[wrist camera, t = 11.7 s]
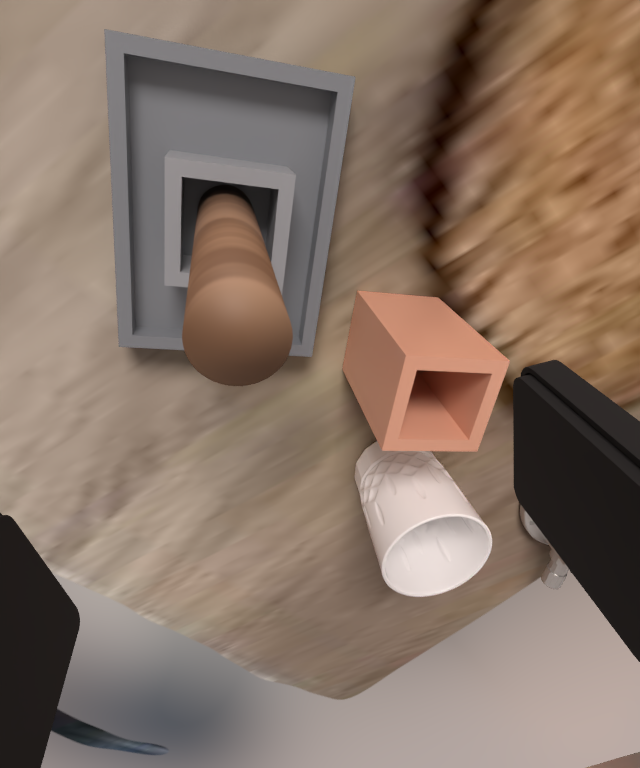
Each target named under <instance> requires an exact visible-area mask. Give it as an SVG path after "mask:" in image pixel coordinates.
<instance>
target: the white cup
mask: <svg viewBox="0 0 640 768" xmlns="http://www.w3.org/2000/svg"><path fill="white" fill-rule="evenodd" d="M355 481H356V484H357V487H358V490H359V493H360V497H361V503H362V508H363V512H364V515H365V518H366V523H367V526H368V530H369V533H370V536H371V540H372V543H373V546H374V549H375V552H376V556H377V559H378V562H379V566H380V569H381V572H382V576H383V578H384V580H385V582H386V584H387V585H388V586H389V587H390V588H391V589H393V590H394V591H396V592H398V593H400V594H403V595H407V596H413V597H426V596H433V595H437V594H441V593H444V592H447V591H450V590H452V589H454V588H456V587H458V586H460V585H462V584H463V583H465V582H466V581H468V580H469V579H470V578H472V577H473V576H474V575H475V574H476V573H477V572H478V571H479V570H480V569H481V568H482V567H483V565H484V564H485V562H486V561H487V559H488V557H489V555H490V552H491V548H492V536H491V533H490V530H489V529H488V527H487V526H486V524H485V523H484V522H483V520H482V519H481V517H480V516H479V515H478V513H477V512H476V511H475V509H474V508H473V506H472V505H471V504H470V502H469V501H468V499H467V498H466V497H465V495H464V494H463V492H462V491H461V490H460V488H459V487H458V485H457V484H456V483H455V481H454V480H453V479H452V478H451V476H450V475H449V474H448V472H447V471H446V469H445V468H444V467H443V466H442V465H441V463H440V462H439V461H438V460H437V459H436V458H435V456H434V455H433V453H432V452H431V451H382V450H381V448H380V446H379V444H378V442H377V441H376V442H375V443H373V444H372V445H370V446H369V447H367V448H366V449H365V450H364V452H363V453H362V455H361V456H360V458H359V459H358V461H357V462H356V468H355Z"/></svg>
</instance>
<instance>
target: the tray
mask: <svg viewBox="0 0 640 768" xmlns="http://www.w3.org/2000/svg"><path fill="white" fill-rule="evenodd" d="M104 32H105V54H106V76H107V97H108V119H109V141H110V163H111V185H112V207H113V229H114V251H115V273H116V295H117V316H118V338H119V347H133V348H152V349H171V350H184V347H183V342H182V331H183V322H184V314H185V306H186V298H187V290H188V282H189V274H190V266H191V258H192V250H193V242H194V234H195V226H196V218H197V210H198V204H199V201H200V199H201V197H202V196H203V194H204V193H205V192H206V191H207V190H209V189H210V188H212V187H214V186H217V185H230V186H234V187H236V188H238V189H240V190H241V191H242V192H244V193H245V194H246V196H247V197H248V198H249V200H250V202H251V204H252V207H253V210H254V213H255V216H256V219H257V222H258V225H259V228H260V231H261V234H262V237H263V240H264V243H265V246H266V249H267V252H268V255H269V258H270V261H271V264H272V267H273V270H274V273H275V277H276V280H277V283H278V286H279V289H280V292H281V295H282V298H283V301H284V304H285V307H286V310H287V313H288V316H289V319H290V322H291V326H292V332H293V340H292V346H291V350H290V353H289V355H288V356H306V357H312V353H313V347H314V340H315V334H316V328H317V321H318V315H319V308H320V302H321V295H322V289H323V282H324V276H325V270H326V263H327V257H328V250H329V244H330V237H331V231H332V225H333V218H334V212H335V205H336V199H337V192H338V186H339V179H340V173H341V167H342V160H343V154H344V147H345V141H346V134H347V128H348V122H349V115H350V109H351V102H352V96H353V89H354V83H355V77H353V76H348V75H343V74H338V73H332V72H327V71H322V70H317V69H311V68H306V67H301V66H296V65H290V64H285V63H280V62H275V61H269V60H264V59H259V58H254V57H248V56H243V55H238V54H233V53H227V52H222V51H217V50H212V49H206V48H201V47H196V46H191V45H185V44H180V43H175V42H170V41H164V40H159V39H154V38H149V37H143V36H138V35H133V34H128V33H122V32H117V31H112V30H107V29H104Z"/></svg>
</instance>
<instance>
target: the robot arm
mask: <svg viewBox="0 0 640 768" xmlns="http://www.w3.org/2000/svg"><path fill="white" fill-rule="evenodd" d="M513 409H514V490H515V493H516V496H517V499H518V501H519V502H520V504H521V505H520V517H521V521H522V523H523V525H524V527H525V529H526V530H527V531H528V532H529V534H530V535H531V536H532V537H533V538H534V539H536V540H537V541H539V542H541V543H544V544H547V545H549V546H550V547H551V550H550V557H551V561H550V562H549V563H548V564H547V566H546V568H545V570H544V572H543V574H542V576H541V579H542V581H543V583H544V584H545V585H546V586H548V587H549V588H552V589H559V588H560V587H561V585H562V583H563V582H564V580H565V578H566V576H567V572H568V570H569V569H570V571H571V573H572V574H573V575H574V576H575V577H576V579H577V580H578V581H579V583H580V584H581V585H582V587H583V588H584V589H585V591H586V592H587V593H588V595H589V596H590V597H591V599H592V600H593V601H594V603H595V604H596V605H597V607H598V608H599V609H600V611H601V612H602V613H603V615H604V616H605V617H606V619H607V620H608V621H609V623H610V624H611V625H612V627H613V628H614V629H615V631H616V632H617V633H618V635H619V636H620V637H621V639H622V640H623V641H624V643H625V644H626V645H627V647H628V648H629V649H630V651H631V652H632V653H633V655H634V656H635V657H636V658H637V659H638V661H639V662H640V421H638V420H637V419H636V418H634V417H633V416H632V415H630V414H629V413H628V412H626V411H625V410H624V409H622V408H621V407H620V406H618V405H617V404H616V403H614V402H613V401H612V400H610V399H609V398H608V397H606V396H605V395H604V394H602V393H601V392H600V391H598V390H597V389H596V388H594V387H593V386H592V385H590V384H589V383H588V382H586V381H585V380H584V379H582V378H581V377H580V376H578V375H577V374H576V373H574V372H573V371H572V370H570V369H569V368H568V367H566V366H565V365H564V364H562V363H561V362H559V361H557V360H551V361H547V362H544V363H540V364H536V365H533V366H529V367H525V368H524V369H523V370H522V372H521V377H518V378H516V379H515V380H514V385H513ZM79 626H80V617H79V612H78V609H77V607H76V606H75V604H74V603H73V602H72V600H71V599H70V597H69V596H68V595H67V593H66V592H65V590H64V589H63V588H62V586H61V585H60V583H59V582H58V581H57V579H56V578H55V577H54V575H53V574H52V572H51V571H50V569H49V568H48V567H47V565H46V564H45V562H44V561H43V560H42V558H41V557H40V555H39V554H38V553H37V551H36V550H35V549H34V547H33V546H32V544H31V543H30V542H29V540H28V539H27V537H26V536H25V535H24V533H23V532H22V530H21V529H20V528H19V526H18V525H17V523H16V522H15V521H14V519H13V518H12V517H10V516H8V515H2V514H1V513H0V768H41V764H42V760H43V757H44V753H45V750H46V746H47V742H48V739H49V735H50V732H51V728H52V724H53V721H54V717H55V714H56V710H57V706H58V703H59V699H60V695H61V692H62V688H63V685H64V681H65V678H66V674H67V670H68V667H69V663H70V660H71V656H72V652H73V649H74V645H75V641H76V638H77V634H78V631H79ZM587 768H640V752H638V753H634V754H631V755H627V756H624V757H620V758H617V759H614V760H611V761H607V762H604V763H600V764H597V765H594V766H590V767H587Z"/></svg>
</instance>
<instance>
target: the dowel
mask: <svg viewBox="0 0 640 768" xmlns="http://www.w3.org/2000/svg"><path fill="white" fill-rule="evenodd" d="M292 340H293V332H292V326H291V322H290V319H289V316H288V313H287V310H286V307H285V304H284V301H283V298H282V295H281V292H280V289H279V286H278V283H277V280H276V277H275V273H274V270H273V267H272V264H271V261H270V258H269V255H268V252H267V249H266V246H265V243H264V240H263V237H262V234H261V231H260V228H259V225H258V222H257V219H256V216H255V213H254V210H253V207H252V204H251V202H250V200H249V198H248V197H247V196H246V194H245V193H244V192H242V191H241V190H240V189H238V188H236V187H234V186H230V185H217V186H214V187H212V188H210V189H209V190H207V191H206V192H205V193H204V194H203V196H202V197H201V199H200V201H199V204H198V210H197V218H196V226H195V234H194V242H193V250H192V258H191V266H190V274H189V282H188V290H187V298H186V306H185V314H184V322H183V331H182V342H183V347H184V351H185V353H186V356H187V358H188V359H189V361H190V363H191V364H192V365H193V367H194V368H195V369H196V370H197V371H198V372H200V373H201V374H202V375H203V376H205V377H207V378H208V379H210V380H212V381H214V382H217V383H220V384H224V385H230V386H244V385H250V384H254V383H257V382H260V381H262V380H264V379H266V378H268V377H270V376H271V375H273V374H274V373H275V372H276V371H277V370H278V369H279V368H280V367H281V366H282V365H283V364H284V362H285V361H286V359H287V357H288V355H289V353H290V350H291V346H292Z"/></svg>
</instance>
